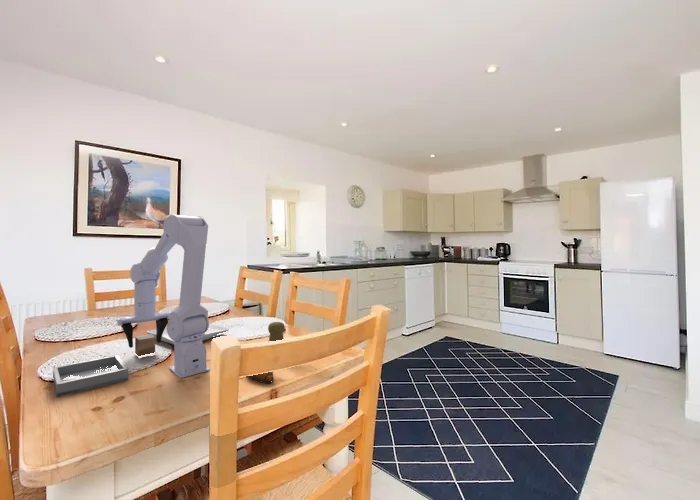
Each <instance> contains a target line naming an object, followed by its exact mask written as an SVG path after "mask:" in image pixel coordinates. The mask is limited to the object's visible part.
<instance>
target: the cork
mask: <svg viewBox="0 0 700 500" xmlns="http://www.w3.org/2000/svg"><path fill="white" fill-rule="evenodd" d="M285 329H286V327H285V323H283V322H281V321H273V322H270V323H269V325H268V326H267V330H268V333H269V337H268V342H269V341H276V340H282V339H284V332H285ZM284 340H285V339H284Z"/></svg>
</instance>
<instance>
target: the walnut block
mask: <svg viewBox="0 0 700 500" xmlns="http://www.w3.org/2000/svg"><path fill="white" fill-rule="evenodd" d="M134 348H135V349H134V353H136V354H137V355H138V356H141V355H145V354H150V353H154V352H155V353H156V338H155V337H154V336H153V335H152V334H143V335H137V336H135V337H134Z"/></svg>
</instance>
